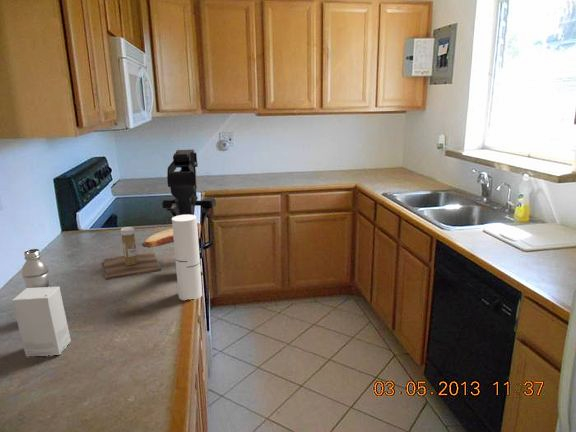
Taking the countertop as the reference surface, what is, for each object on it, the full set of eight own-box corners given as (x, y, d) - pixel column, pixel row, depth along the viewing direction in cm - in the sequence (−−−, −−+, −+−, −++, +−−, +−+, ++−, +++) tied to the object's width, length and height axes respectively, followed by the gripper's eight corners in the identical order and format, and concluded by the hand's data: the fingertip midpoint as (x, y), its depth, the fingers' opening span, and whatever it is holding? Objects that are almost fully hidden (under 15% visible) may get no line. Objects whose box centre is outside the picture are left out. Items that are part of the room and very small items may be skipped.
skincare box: (71, 342, 107) (62, 285, 102) (59, 357, 100) (48, 298, 96) (38, 343, 106) (26, 286, 102) (23, 358, 100) (10, 299, 96)
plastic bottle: (29, 326, 114) (15, 257, 108) (32, 315, 120) (19, 249, 114) (56, 321, 116) (44, 253, 111) (58, 310, 122) (46, 245, 117)
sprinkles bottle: (135, 265, 152) (131, 230, 148) (123, 266, 151) (118, 230, 148) (139, 261, 156) (135, 226, 152) (127, 261, 156) (122, 226, 152)
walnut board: (161, 270, 150) (160, 267, 150) (106, 280, 143) (105, 277, 142) (153, 254, 166) (153, 251, 165) (103, 262, 158) (103, 259, 158)
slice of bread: (142, 248, 173) (141, 240, 172) (149, 234, 190) (148, 226, 189) (187, 246, 175) (186, 237, 174) (190, 232, 192) (189, 224, 191)
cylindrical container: (182, 290, 135) (175, 214, 128) (204, 290, 134) (199, 214, 127) (175, 300, 128) (168, 221, 121) (199, 300, 127) (193, 221, 121)
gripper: (154, 188, 147) (158, 231, 151) (206, 189, 145) (209, 232, 149) (166, 182, 158) (169, 222, 162) (215, 182, 156) (217, 223, 160)
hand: (190, 225), depth 158 cm, fingers open, 9 cm apart
